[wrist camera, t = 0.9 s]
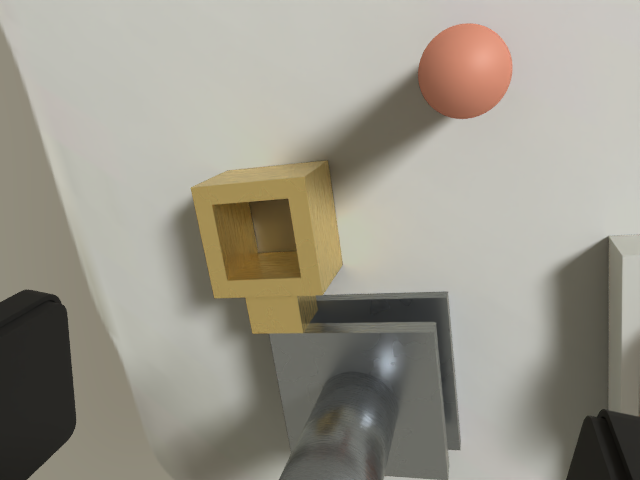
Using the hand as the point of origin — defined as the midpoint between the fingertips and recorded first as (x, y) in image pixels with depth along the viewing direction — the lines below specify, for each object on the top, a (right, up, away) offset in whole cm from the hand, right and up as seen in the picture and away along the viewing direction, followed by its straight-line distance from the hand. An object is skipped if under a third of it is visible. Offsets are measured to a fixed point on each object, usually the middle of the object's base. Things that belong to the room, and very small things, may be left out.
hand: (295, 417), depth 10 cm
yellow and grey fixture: (+2, -1, +24) cm, 24 cm away
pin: (+8, +12, +18) cm, 23 cm away
